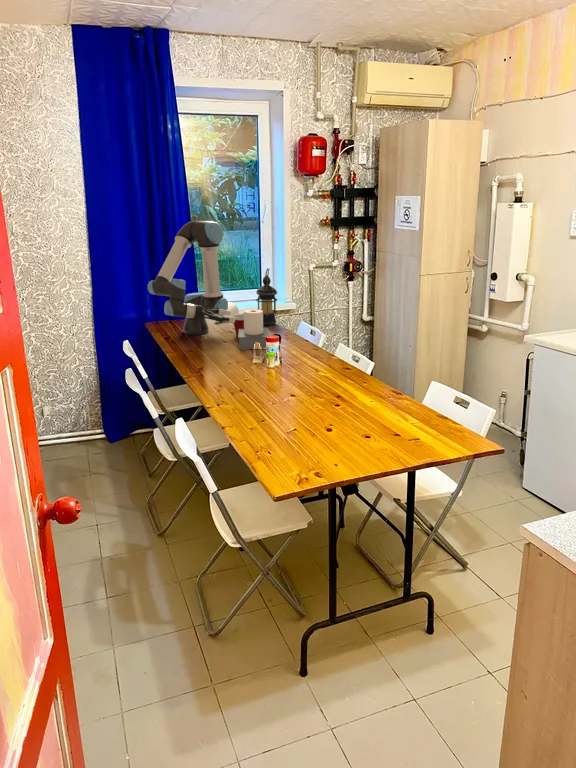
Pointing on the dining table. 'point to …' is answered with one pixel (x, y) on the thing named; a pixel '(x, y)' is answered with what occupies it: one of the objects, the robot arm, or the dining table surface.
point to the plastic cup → (238, 323)
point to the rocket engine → (232, 308)
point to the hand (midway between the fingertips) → (232, 316)
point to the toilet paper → (253, 322)
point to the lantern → (267, 300)
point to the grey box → (252, 339)
